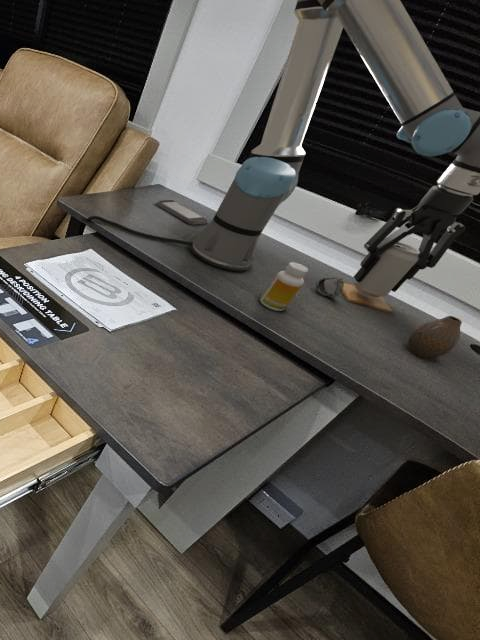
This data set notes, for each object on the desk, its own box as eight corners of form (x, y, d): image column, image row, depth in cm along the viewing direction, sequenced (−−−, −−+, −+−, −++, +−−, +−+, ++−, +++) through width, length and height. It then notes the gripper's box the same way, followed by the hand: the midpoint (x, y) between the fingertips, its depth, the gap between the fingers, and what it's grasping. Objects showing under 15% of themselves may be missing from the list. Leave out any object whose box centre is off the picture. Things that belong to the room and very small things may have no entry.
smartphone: (193, 221, 133) (156, 200, 142) (191, 224, 133) (155, 204, 142) (209, 219, 136) (172, 199, 145) (207, 223, 137) (171, 203, 146)
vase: (438, 354, 98) (475, 321, 92) (438, 367, 93) (476, 333, 88) (402, 338, 100) (435, 305, 95) (400, 350, 96) (434, 316, 90)
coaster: (347, 300, 111) (349, 298, 111) (336, 282, 118) (337, 280, 118) (390, 312, 110) (392, 310, 109) (376, 293, 117) (378, 292, 117)
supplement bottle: (287, 314, 101) (316, 275, 94) (263, 308, 101) (290, 269, 94) (279, 301, 105) (307, 263, 98) (256, 296, 105) (282, 258, 98)
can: (354, 280, 117) (390, 236, 109) (386, 293, 114) (426, 249, 106) (348, 288, 113) (385, 243, 104) (381, 302, 109) (422, 257, 101)
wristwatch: (323, 298, 113) (320, 278, 113) (346, 294, 108) (343, 274, 108) (315, 300, 112) (312, 280, 112) (337, 297, 108) (334, 276, 107)
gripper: (411, 183, 95) (335, 279, 110) (517, 208, 92) (424, 303, 107) (397, 173, 100) (326, 266, 116) (497, 197, 98) (411, 289, 113)
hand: (374, 284), depth 111 cm, fingers closed on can, 7 cm apart
